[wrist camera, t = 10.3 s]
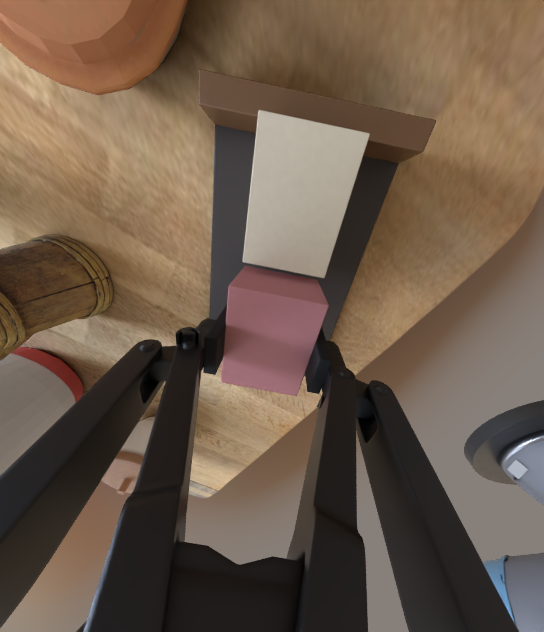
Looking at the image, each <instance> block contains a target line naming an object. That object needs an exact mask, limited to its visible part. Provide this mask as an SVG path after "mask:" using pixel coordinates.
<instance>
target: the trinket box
mask: <svg viewBox="0 0 544 632" xmlns="http://www.w3.org/2000/svg"><path fill="white" fill-rule="evenodd" d="M154 420H155V417H148V418H146V419H145V420H142V421H139V422H138V423H137V425H136V427H135V428H134V430H133V431H132V433H131V434H130V436H129V437H128V439H127V441H126V442H125V444H124V445H123V447H122V448H121V450H120V451H119V453H118V455H117V456H116V458H115V459H114V461H113V462H112V464H111V466H110V467H109V469H108V470H107V472H106V473H105V475H104V476H103V478H102V480H101V481H103V482H104V483H106V484H107V485H109V486H112V487H114V488H116V489H118V491H117V493H119V494H124V493H125V492H128V493H132V492H133V490H134V488H135V485H136V481H137V478H138V475H139V471H140V468H141V464H142V461H143V458H144V454H145V451H146V447H147V444H148V441H149V437H150V434H151V430H152V427H153V424H154Z"/></svg>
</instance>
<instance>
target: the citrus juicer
mask: <svg viewBox="0 0 544 632" xmlns="http://www.w3.org/2000/svg"><path fill="white" fill-rule="evenodd" d="M82 395H83V385H82V383H81V381H80V379H79V378H78V376H77V375H76V374H75V373H74V372H73V370H71V369H70V368H69V367H68V366H67V365H66V364H65V363H64V362H63V361H62V360H61V359H59V358H57V357H53V356H51V355H49V354H47V353H45V352H42V351H39V350H36V349H33V348H27V347H18V348H17V349H16V350H14V351H13V352H12V353H10V354H9V355H8V356H7V357H5V358H4V359H2V360H1V361H0V475H2V474H3V473H4V472H5V471H6V470H7V469H8V468H9V467H10V466H11V465H12V464H13V463H14V462H15V461H16V460H17V459H18V458H19V457H20V456H21V455H22V454H23V453H24V452H25V451H26V450H27V449H28V448H29V447H30V446H31V445H33V444H34V443H35V442H36V441H37V440H38V439H39V438H40V437H41V436H42V435H43V434H44V433H45V432H46V431H47V430H48V429H49V428H50V427H51V426H52V425H53V424H54V423H55V422H56V421H57V420H58V419H59V418H60V417H61V416H62V415H63V414H65V413H66V412H67V411H68V410H69V409H70V408H71V407H72V406H73V405H74V404H75V403H76V402H77V401H78V400H79V399H80V398H81V397H82Z"/></svg>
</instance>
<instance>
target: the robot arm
mask: <svg viewBox="0 0 544 632" xmlns="http://www.w3.org/2000/svg"><path fill="white" fill-rule="evenodd" d="M226 313H227V304H226V306H225V307H224V309H223V310H222V312H221V313H220V315H219V316H218V318H217V319H216V320H214V319H209V318H207V319H205V320H203V321H201V323H200V324H199V326H197V328H192V327H187V328H182V329H180V330H178V331H177V332H176V344H177V346H164V347H162V345H161V342H159V341H158V340H152V339H149V340H144V341H141V342H139V343H137V344H136V345H135V346H134V347H133V348H132V349H131V350H130V351H129V352H128V353H126V354H125V355H124V356H123V357H122V358H121V359H120V360H119V361H118V362H117V363H116V364H115V365H114V366H113V367H112V368H111V369H110V370H109V371H108V372H107V373H106V374H105V375H104V376H103V377H102V378H101V379H100V380H99V381H98V382H97V383H96V384H94V385H93V386H92V387H91V388H90V389H89V390H88V391H87V392H86V393H85V394H84V395H83V396H82V397H81V398H80V399H79V400H78V401H77V402H76V403H75V404H74V405H73V406H72V407H71V408H70V409H69V410H68V411H67V412H66V413H65V414H63V415H62V416H61V417H60V418H59V419H58V420H57V421H56V422H55V423H54V424H53V425H52V426H51V427H50V428H49V429H48V430H47V431H46V432H45V433H44V434H43V435H42V436H41V437H40V438H39V439H38V440H37V441H36V442H35V443H34V444H33V445H31V446H30V447H29V448H28V449H27V450H26V451H25V452H24V453H23V454H22V455H21V456H20V457H19V458H18V459H17V460H16V461H15V462H14V463H13V464H12V465H11V466H10V467H9V468H8V469H7V470H6V471H5V472H4V473H3V474H2V475H0V628H1V627H2V625H3V624H4V623H5V622H6V620H7V619H8V618H9V616H10V615H11V614H12V612H13V611H14V610H15V608H16V607H17V606H18V604H19V603H20V602H21V600H22V599H23V598H24V597H25V595H26V594H27V593H28V591H29V590H30V588H31V587H32V586H33V584H34V583H35V581H36V580H37V578H38V577H39V575H40V574H41V572H42V571H43V569H44V568H45V567H46V565H47V564H48V562H49V561H50V559H51V558H52V556H53V554H54V553H55V551H56V550H57V548H58V547H59V545H60V543H61V542H62V540H63V539H64V537H65V536H66V534H67V533H68V531H69V529H70V528H71V526H72V525H73V523H74V522H75V520H76V519H77V517H78V515H79V514H80V512H81V511H82V509H83V508H84V506H85V505H86V503H87V501H88V500H89V498H90V497H91V495H92V494H93V492H94V490H95V489H96V487H97V486H98V484H99V483H100V481H101V480H102V478H103V476H104V475H105V473H106V472H107V470H108V469H109V467H110V466H111V464H112V462H113V461H114V459H115V458H116V456H117V455H118V453H119V451H120V450H121V448H122V447H123V445H124V444H125V442H126V441H127V439H128V437H129V436H130V434H131V433H132V431H133V430H134V428H135V427H136V425H137V423H138V422H139V420H140V419H141V417H142V416H143V414H144V412H145V411H146V409H147V408H148V406H149V405H150V403H151V402H152V400H153V398H154V397H155V395H156V394H157V392H158V391H159V389H160V387H161V386H162V384H163V383H164V381H166V383H165V386H164V390H163V393H162V396H161V400H160V403H159V407H158V410H157V413H156V417H155V420H154V424H153V427H152V430H151V434H150V437H149V441H148V444H147V447H146V451H145V454H144V458H143V461H142V464H141V468H140V471H139V475H138V478H137V481H136V485H135V488H134V490H133V492H132V494H131V495H130V496H129V497H128V499H127V500H126V502H125V504H124V506H123V509H122V511H121V514H120V517H119V520H118V523H117V527H116V530H115V533H114V536H113V539H112V542H111V546H110V549H109V552H108V555H107V558H106V561H105V565H104V568H103V571H102V574H101V577H100V581H99V584H98V587H97V590H96V593H95V597H94V600H93V603H92V606H91V609H90V613H89V615H88V619H87V621H86V622H85V623H84V624H83V625H82V626H81V627H80V628H79V629H78V630H77V632H368V622H367V621H368V619H367V590H366V561H365V547H364V543H363V539H362V537H361V536H360V534H359V533H358V530H357V510H356V509H357V508H356V507H357V504H356V503H357V500H356V430H357V434H358V438H359V442H360V446H361V450H362V454H363V457H364V461H365V465H366V469H367V473H368V477H369V480H370V484H371V488H372V492H373V496H374V500H375V504H376V507H377V511H378V515H379V519H380V523H381V527H382V531H383V535H384V538H385V542H386V546H387V550H388V554H389V558H390V562H391V565H392V569H393V573H394V577H395V581H396V585H397V589H398V592H399V596H400V600H401V604H402V608H403V611H404V616H405V619H406V623H407V626H408V630H409V632H544V553H540V554H529V555H520V556H508V555H505V556H503V557H502V558H501V559H496V560H490V561H486V562H484V563H482V561H481V559H480V557H479V555H478V553H477V551H476V549H475V547H474V545H473V543H472V542H471V540H470V538H469V536H468V534H467V532H466V530H465V528H464V526H463V524H462V523H461V521H460V519H459V517H458V515H457V513H456V511H455V509H454V507H453V505H452V503H451V502H450V500H449V498H448V496H447V494H446V492H445V490H444V488H443V486H442V484H441V482H440V481H439V479H438V477H437V475H436V473H435V471H434V469H433V467H432V465H431V463H430V462H429V460H428V458H427V456H426V454H425V452H424V450H423V448H422V446H421V444H420V442H419V441H418V439H417V437H416V435H415V433H414V431H413V429H412V427H411V425H410V423H409V422H408V420H407V418H406V416H405V414H404V412H403V410H402V408H401V406H400V404H399V403H398V400H397V399H396V397H395V395H394V393H393V391H392V390H391V389H390V388H389V387H388V386H387V385H385V384H384V383H382V382H379V381H374V380H373V381H371V382H370V383H369V385H368V384H366V383H363V382H361V381H359V380H357V379H355V375H354V374H353V372H351V371H350V370H349V369H347V368H346V366H345V363H344V361H343V358H342V356H341V353H340V350H339V348H338V346H337V345H336V344H335V343H334V342H332V341H327V340H326V338H325V335H324V332H323V329H322V326H321V329H320V332H319V335H318V338H317V340H316V342H315V345H314V348H313V351H312V354H311V357H310V359H309V362H308V365H307V368H306V371H305V375H306V384H307V392H312V393H317V394H319V392H320V390H321V388H322V392H323V394H322V396H321V399H320V401H319V403H318V405H317V407H319V409H318V414H317V419H316V424H315V429H314V434H313V439H312V444H311V450H310V454H309V460H308V464H307V470H306V475H305V480H304V485H303V490H302V495H301V500H300V505H299V510H298V515H297V520H296V525H295V530H294V534H293V538H292V541H291V544H290V547H289V551H288V555H287V559H284V558H278V557H269V558H265V559H261V560H257V561H254V562H250V563H246V564H242V565H238V564H236V563H234V562H232V561H231V560H229V559H228V558H226V557H224V556H223V555H221V554H220V553H218V552H217V551H215V550H213V549H212V548H210V547H209V546H205V545H199V544H193V543H187V542H184V540H185V526H186V511H187V501H188V492H189V483H190V473H191V464H192V454H193V445H194V436H195V426H196V417H197V407H198V398H199V388H200V379H201V370H202V369H203V367H204V373H209V374H214V375H215V374H216V372H217V370H218V368H219V365H220V363H221V361H222V359H223V356H224V344H225V331H226ZM497 462H498V465H499V466H500V467H501V469H502V470H503V471H504V472H505V473H506V474H507V476H509V477H510V478H511V479H512V480H513V481H514V482H515V483H516V484H517V485H519V486H520V487H521V488H523V489H524V490H525V491H526V492H527V493H529V494H530V495H531V496H532V497H534V498H535V499H536V500H537V501H539V502H540V503H541V504H542V505H544V429H543V430H539V431H536V432H533V433H530V434H527V435H525V436H522V437H520V438H518V439H516V440H515V441H513V442H511V443H510V444H508V445H507V446H506V447H505V448H504V449H503V450H502V451H501V452H500V454H499V455H498V459H497Z"/></svg>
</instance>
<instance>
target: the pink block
mask: <svg viewBox="0 0 544 632" xmlns="http://www.w3.org/2000/svg"><path fill="white" fill-rule="evenodd" d="M328 307H329V305H328V302H327V300H326V298H325V296H324V294H323V291H322V289H321V287H320V285H319V283H318V280H315V279H310V278H305V277H300V276H295V275H290V274H285V273H280V272H275V271H270V270H265V269H260V268H255V267H250V266H245V267H244V268H243V269H242V270H241V271H240V273H239V274H238V275H237V276H236V278H235V279H234V280H233V281H232V282H231V284H230V285H229V287H228V300H227V313H226V331H225V344H224V356H223V365H222V378H221V382H223V383H228V384H233V385H239V386H244V387H250V388H255V389H260V390H266V391H271V392H277V393H282V394H288V395H293V396H297V394H298V391H299V388H300V385H301V383H302V380H303V377H304V374H305V371H306V368H307V365H308V362H309V359H310V357H311V354H312V351H313V348H314V345H315V342H316V340H317V338H318V335H319V332H320V329H321V326H322V324H323V321H324V318H325V315H326V312H327V309H328Z"/></svg>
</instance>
